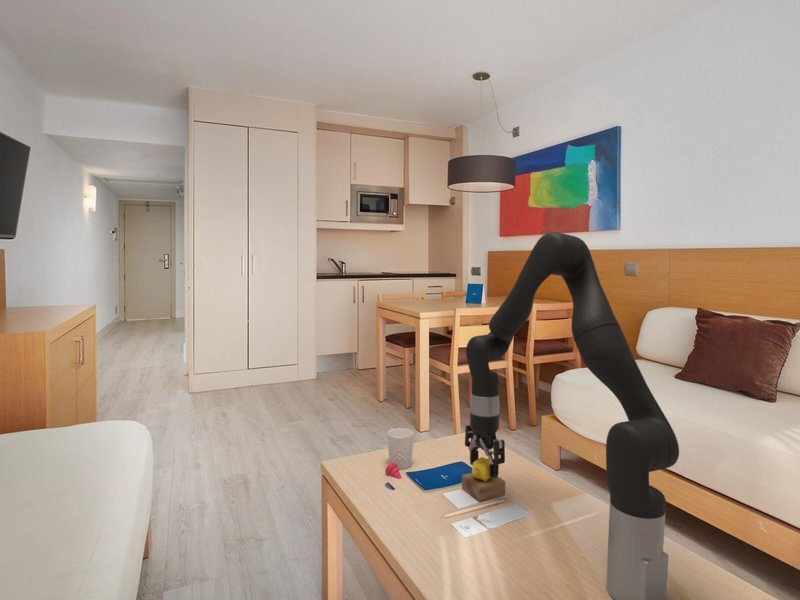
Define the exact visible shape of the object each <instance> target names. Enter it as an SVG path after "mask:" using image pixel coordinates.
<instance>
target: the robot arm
mask: <svg viewBox="0 0 800 600" xmlns="http://www.w3.org/2000/svg"><path fill="white" fill-rule="evenodd" d="M551 275H554V276H560V277H562V279H563V280H564V283H565V285H566V287H567V289H568V291H569V294H570V296H571V300H572V315H571V333H572V337H573V340H574V343H575V345H576V347H577V351H578V353H579V355H580V357H581V360H582V362H583V364H584V365H585V367H586V368H587V369H588V371H590V372H591V374H593V376H595V377H596V379H598V380H599V382H601V383H602V384H604V386H605V387H606V388H608V389H609V390H610V392H611V393H612V394H613V395H614V397H616V399H617V400H618V402H619V403H620V406H621V407H622V409H623V410H624V412H625V415H626V418H627V421H621V422H617V423H615V424H613V425H612V426H611V427H610V429H609V430H608V433H607V436H606V442H605V443H606V444H605V466H606V469H605V471H606V472H605V473H606V475H605V476H606V477H605V478H606V484H607V488H608V490H609V513H608V514H609V516H608V537H607V560H606V561H607V563H606V581H605V582H606V585H605V586H606V588H605V589H606V590H607V593H608V594H609V596H611V598H613V600H667V589H668V586H667V585H668V571H669V569H668V568H669V567H668V566H669V554H668V553H666V552H665V551H664V539H665V528H666V527H665V525H666V510H667V509H666V505H667V503H666V502H667V500H666V496H665V495H664V494H663V492H662V491H661V490H660V489H658V488H656V487H654V486H653V485H650V473H652V472H656V471H659V470H660V471H661V470H665V469H668V468H671V467H673V466H674V465H675V464H676V463H677V461H678V460H679V455H680V445H679V442H678V438H677V436H676V434H675V431H674V430H673V429H674V428H672V426H671V423H670V422H669V420H668V418H667V417H666V415H665V413H664V412H663V410H662V408H661V407H660V405H659V404H658V401H657V400H656V398H655V396H654V395H653V393H652V391H651V389H650V388H649V386H648V384H647V382H646V380H645V377H644V376H643V374H642V372H641V369H640V367H639V366H638V363H637V362H636V360H635V357H634V355H633V353H632V351H631V347H630V345H629V343H628V341H627V338H626V336H625V334H624V332H623V330H622V328H621V325H620V324H619V322H618V320H617V318H616V316H615V313H614V311H613V310H612V306H611V304H610V301H609V300H608V298H607V296H606V293H605V291H604V289H603V286H602V285H601V281H600V278H599V276H598V273H597V269H596V266H595V263H594V260H593V257H592V254H591V251H590V249H589V247H588V245H587V243H586V242H585V241H584V240H583V239H581V238H580V237H578V236H575V235H570V234H566V233H563V232H557V231H550V232H547V233H545V234H543V235H542V236H541V237H540V238H539V239H538V240H537V241H536V243H535V245H534V246H533V248H532V250H531V251H530V254H529V256H528V257H527V258H526V261H525V263H524V265H523V267H522V269H521V271H520V273H519V274H518V277H517V279H516V281H515V282H514V285H513V286H512V289H511V290H510V292H509V293H508V295H507V297H506V298H505V299H504V301H503V302H502V303H501V305H500V306H499V307H498V309H497V310H496V312H494V314H493V316H492V317H491V318H490V319H489V323H488V329H489V331H490V332H489V333H487V334H482V335H475V336H473V337H471V338H470V339H469V340H468V342H467V344H466V348H465V355H466V356H465V357H466V361H467V364H468V365H467V366H468V369H469V372H470V373H469V374H470V377H471V394H470V400H469V401H470V403H469V404H470V407H469V408H470V409H469V411H470V412H469V424H468V425H465V435H464V445H465V447H467V448H468V451H469V464H470V465H471V466H473V462H474V461H476V460H477V459H479V453H480V452H479V449H481V450H482V451H483V452H484V454H485V455H484V456H486V457H487V459H489V461H490V468H489V476H490V477H491V478H496V477H497V476H498V477H499V470H500V469H499V467H500V466H499V465H501V464H505V462H506V456H505V455H506V451H505V448H506V447H505V440H504V439H498V438H497V435H496V434H497V432H498V431H499V429H500V396H499V395H500V376H499V374H498V372H496V371H494V370H491V368H490V364H489V363H490V362H495V361H497V360H500V359H502V357H504V356H505V355H506V354H507V352H508V350H509V347H510V346H511V344H512V341H513V339H514V336H515V335H516V334H517V333H518V332H519V330H520V329H521V328H522V327H523V325H524V324H525V323H526V322H527V321H528V319H529V317H530V315H531V312H532V310H533V305H534V300H535V295H536V293H537V291H538V289H539V287H541V285H542V284H543V282H544V281H546V280H547V279H548V278H549V277H550V276H551ZM492 449H493V450H492Z"/></svg>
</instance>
